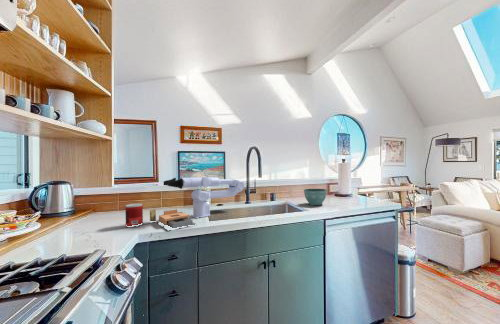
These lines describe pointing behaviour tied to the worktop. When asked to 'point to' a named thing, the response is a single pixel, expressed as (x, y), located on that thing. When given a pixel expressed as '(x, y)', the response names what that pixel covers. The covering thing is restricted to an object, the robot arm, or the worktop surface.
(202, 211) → the robot arm
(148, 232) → the worktop surface
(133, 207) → the canned food
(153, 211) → the pin
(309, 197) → the flower pot
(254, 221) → the worktop surface
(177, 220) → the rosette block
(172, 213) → the orange slotted block
